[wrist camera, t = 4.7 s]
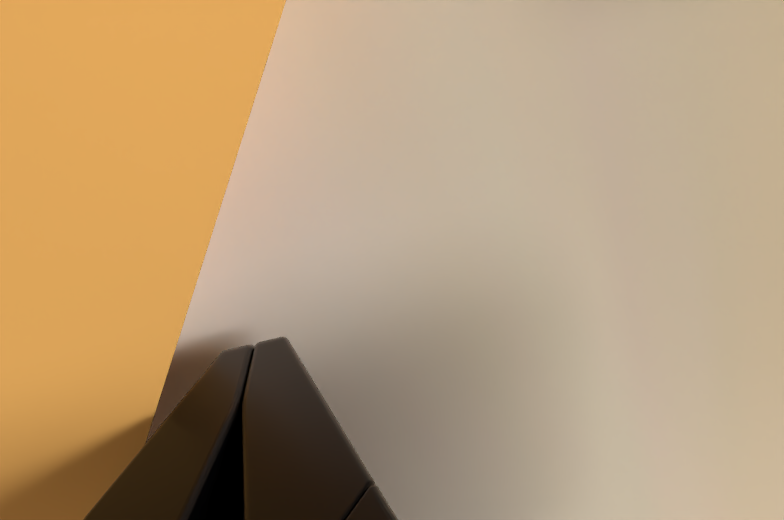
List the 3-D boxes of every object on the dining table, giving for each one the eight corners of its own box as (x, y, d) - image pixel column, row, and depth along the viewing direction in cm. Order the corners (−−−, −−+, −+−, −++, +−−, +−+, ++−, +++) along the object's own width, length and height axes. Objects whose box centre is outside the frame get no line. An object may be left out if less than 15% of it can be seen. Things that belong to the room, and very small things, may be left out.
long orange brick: (-29, -576, 5) (-245, -890, 3) (380, -339, 7) (429, -453, 4) (-124, 465, 10) (-237, 627, 8) (118, 503, 11) (77, 655, 9)
